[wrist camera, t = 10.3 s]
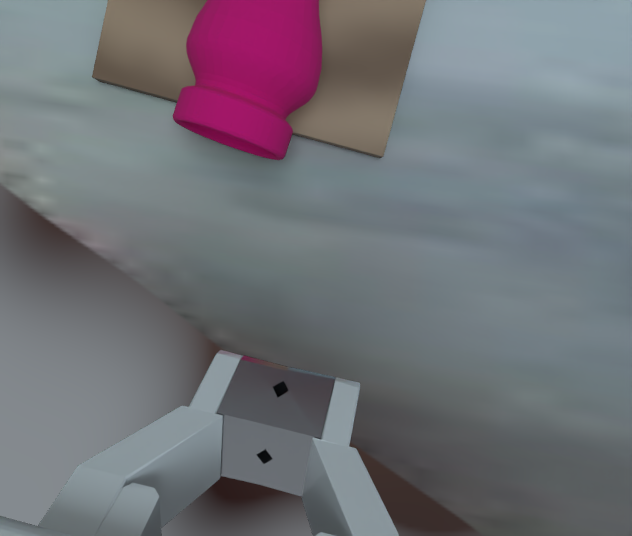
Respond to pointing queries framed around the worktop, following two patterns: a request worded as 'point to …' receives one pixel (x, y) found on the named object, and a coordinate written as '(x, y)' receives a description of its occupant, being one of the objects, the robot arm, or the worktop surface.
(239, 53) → the pepper mill
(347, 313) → the worktop surface
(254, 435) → the robot arm
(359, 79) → the walnut board
